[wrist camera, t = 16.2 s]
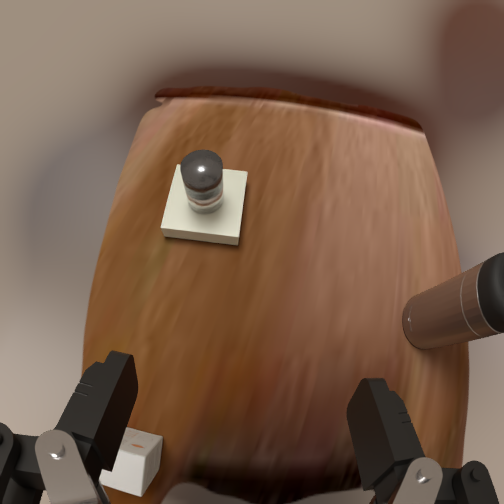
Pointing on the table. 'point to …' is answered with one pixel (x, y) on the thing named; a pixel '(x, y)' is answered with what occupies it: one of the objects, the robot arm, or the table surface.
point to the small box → (134, 462)
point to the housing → (203, 181)
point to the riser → (206, 225)
